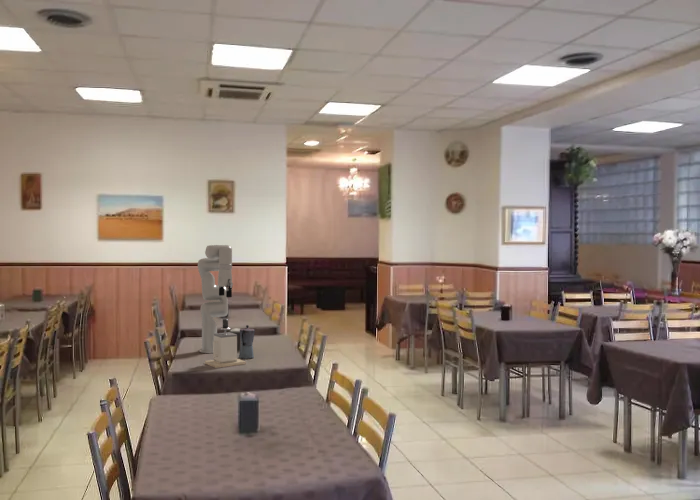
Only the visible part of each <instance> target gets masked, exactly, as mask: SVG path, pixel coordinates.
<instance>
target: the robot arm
mask: <svg viewBox="0 0 700 500" xmlns="http://www.w3.org/2000/svg"><path fill="white" fill-rule="evenodd" d="M204 253H205V256H206V257H203V258H201V259H199V260H198V262H197V269H198V274H199V276H200V279H201V295H202V299H203V300H204V301H206V302H203V303H202V304H201V305H200V310H199V311H200V317H201V348H200V349H199V352H200V353H202V354H213V341H214V334H216V333H218V323H217V321H216V320H215V319H214V318H218V317H219V318H220V317H222V318H223V317H227V315H228V314H229V300H228V298H232V296H233V295H232V293H233V285H234V283H233V274H232V273H233V271H232V270H233V248H232V246H230V245H228V244H213V245H212V244H211V245H206V248H205V251H204ZM211 272H218V275H217V284H216V278H215V275H213V273H211ZM207 301H209V302H207ZM211 301H212V302H211Z"/></svg>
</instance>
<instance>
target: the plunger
mask: <svg viewBox="0 0 700 500" xmlns="http://www.w3.org/2000/svg"><path fill="white" fill-rule="evenodd" d="M220 330H221V331H224V332H223V333H224V335H225V334H226V332H227V331H229V330H231V327H229V319H228V318H223V319H222V327H220Z"/></svg>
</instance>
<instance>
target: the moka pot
mask: <svg viewBox="0 0 700 500" xmlns="http://www.w3.org/2000/svg"><path fill="white" fill-rule="evenodd" d="M239 336H240V348H239V349H240V350H239V355H238V359H242V360H243V359H244V360H246V359H247V360H248V359H254V358H255V357H254V354H255V353H254V346H253V345H254V339H255V329H254V328H249V325H248V324H247V325H246V326H245V327H243V328H240V329H239Z"/></svg>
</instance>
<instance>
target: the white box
mask: <svg viewBox="0 0 700 500" xmlns="http://www.w3.org/2000/svg"><path fill="white" fill-rule="evenodd" d="M212 357H213V359H208V360H204V365H208V366H210V367H212V368H215V369H217V368H219V369H220V368H226V367H234V366H235V367H236V366H242V365H246V364H247V361H245V360H243V359H241V358H239V357H238V334H236V333H233V332H230V331H228V332H227V331H226V334H225V335H224V332H219V333H218V332H217V333H216V334H214V341H213V353H212Z"/></svg>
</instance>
